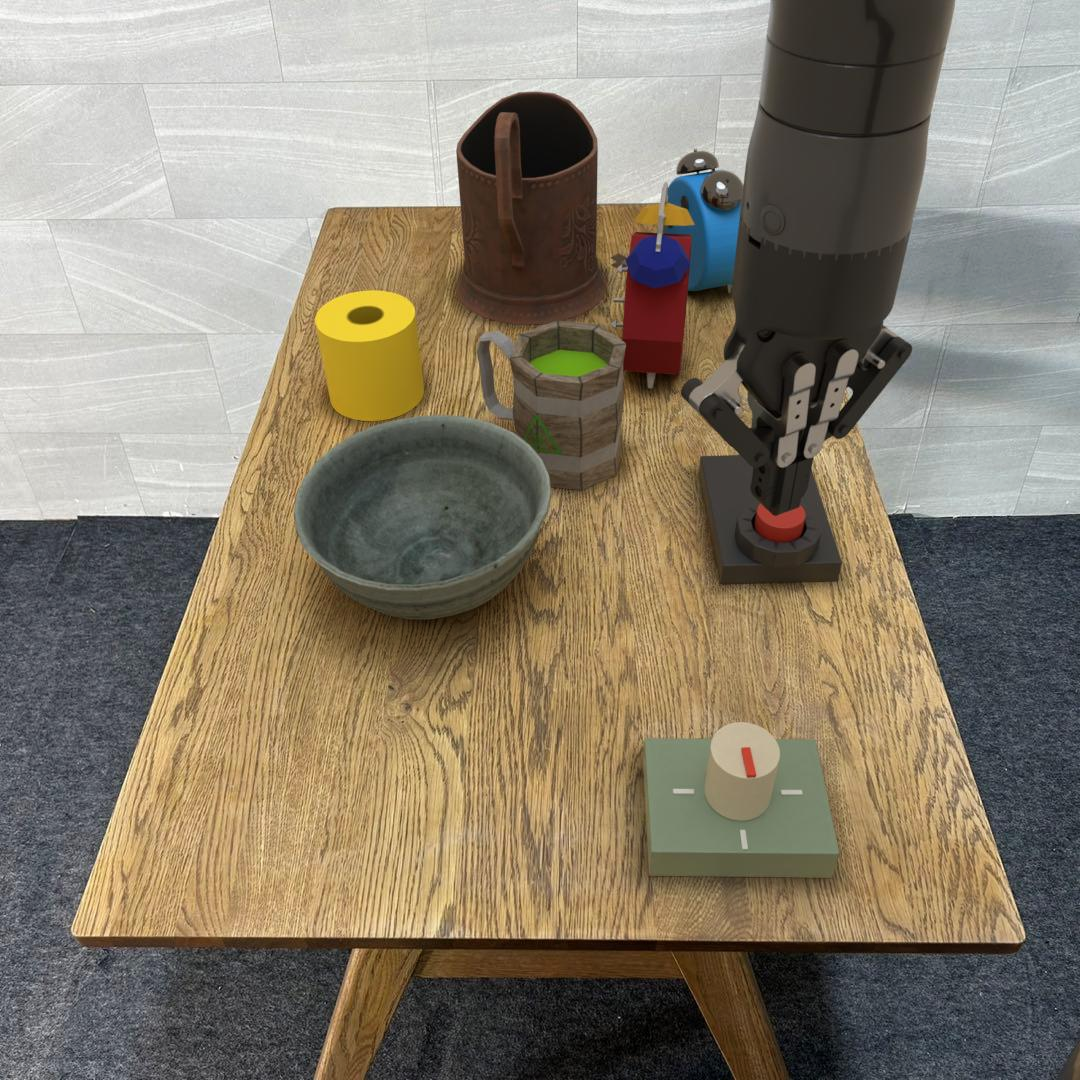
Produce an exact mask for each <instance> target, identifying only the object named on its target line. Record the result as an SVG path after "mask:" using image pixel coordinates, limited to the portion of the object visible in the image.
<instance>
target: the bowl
mask: <svg viewBox="0 0 1080 1080" xmlns="http://www.w3.org/2000/svg"><path fill="white" fill-rule="evenodd" d="M551 499H552V487H551V485H550V477H549V474H548V472H547V470H546V468H545V465H544V463H543V461H542V459H541V458H540V457H539V456H538V454H537V453H536V452H535V451H534V450H533V449H532V447H531V446H530V445H529V444H527V443H526V442H525V441H524V440H522V439H521V438H520V437H518V436H517V435H516V433H515V432H513V431H510V430H508V429H506V428H504V427H502V426H500V425H498V424H496V423H493V422H489V421H485V420H481V419H478V418H474V417H469V416H461V415H454V414H453V415H452V414H432V415H428V414H427V415H419V416H412V417H405V418H399V419H398V418H397V419H395V420H391V421H388V422H383V423H379V424H375V425H373V426H370V427H368V428H365V429H363V430H361V431H358V432H356V433H353V434H351V435H350V436H348V437H347V438H345V439H344V440H342V441H340V442H339V443H337V444H336V445H334V446H333V447H331V449H329V450H328V451H327V452H326V453H325V454H323V455H322V456H321V457H320V458H319V459H318V460H316V462H315V463H314V464H313V466H312V467H311V468H310V469H309V471H308V472H307V473H306V475H305V476H304V477H303V479H302V481H301V483H300V486H299V488H298V490H297V493H296V495H295V501H294V508H293V509H294V510H293V521H294V527H295V528H294V529H295V533H296V536H297V537H298V540H299V542H300V544H301V546H302V549H303V550H304V551H305V552H306V553H307V554H308V555H309V556H310V557H311V558H312V559H313V560H314V562H315V563H316V564H317V565H318V567H319V568H320V569H321V571H322V572H323V573H324V575H326V576H327V578H328V579H329V580H330V581H331V582H332V583H333V584H334V585H335V586H336V587H337V588H338V590H339V591H340V592H341V593H342V594H344V595H346V596H347V597H349V598H351V599H352V600H354V601H355V602H356V603H358V604H360V605H362V606H364V607H367V608H369V609H372V610H374V611H377V612H379V613H382V614H384V615H387V616H390V617H395V618H401V619H405V620H435V619H440V618H447V617H452V616H455V615H458V614H461V613H465V612H468V611H471V610H473V609H475V608H477V607H479V606H481V605H484V604H486V603H487V602H489V601H491V600H492V599H494V597H496V596H498V594H500V593H501V592H502V591H503V590H504V589H506V588H507V587H508V586H509V585H510V584H511V582H513V580H514V579H515V577H517V575H518V574H519V573H520V572H521V571H522V569H523V568H524V567H525V565H526V563H527V561H528V560H529V558H530V557H531V554H532V552H533V550H534V548H535V546H536V544H537V542H538V540H539V537H540V535H541V530H542V526H543V524H544V522H545V520H546V518H547V516H548V514H549V510H550V504H551Z"/></svg>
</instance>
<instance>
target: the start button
mask: <svg viewBox="0 0 1080 1080" xmlns="http://www.w3.org/2000/svg"><path fill="white" fill-rule="evenodd" d="M804 521H805V511H804V509H803V507H802V506H801V505H800V506H799V508H797V509H794V510H791V511H788V512H785V513H783V514H780V515H777V516H774V515H772V514H771V513H770V512H769V511H768V510H767V509H766V508H765V507H764V506H763V505H762V504H761V503H760V504H759V506H758V508H757V513H756V519H755V529H756V531H757V533H758V534H759V535H760V536H761V537H762V538H764V539H766V540H769V541H773V542H776V543H788V542H792V541H795V540H797V539H798V538H799V537H800V536H801V534H802V531H803V526H804Z"/></svg>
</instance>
